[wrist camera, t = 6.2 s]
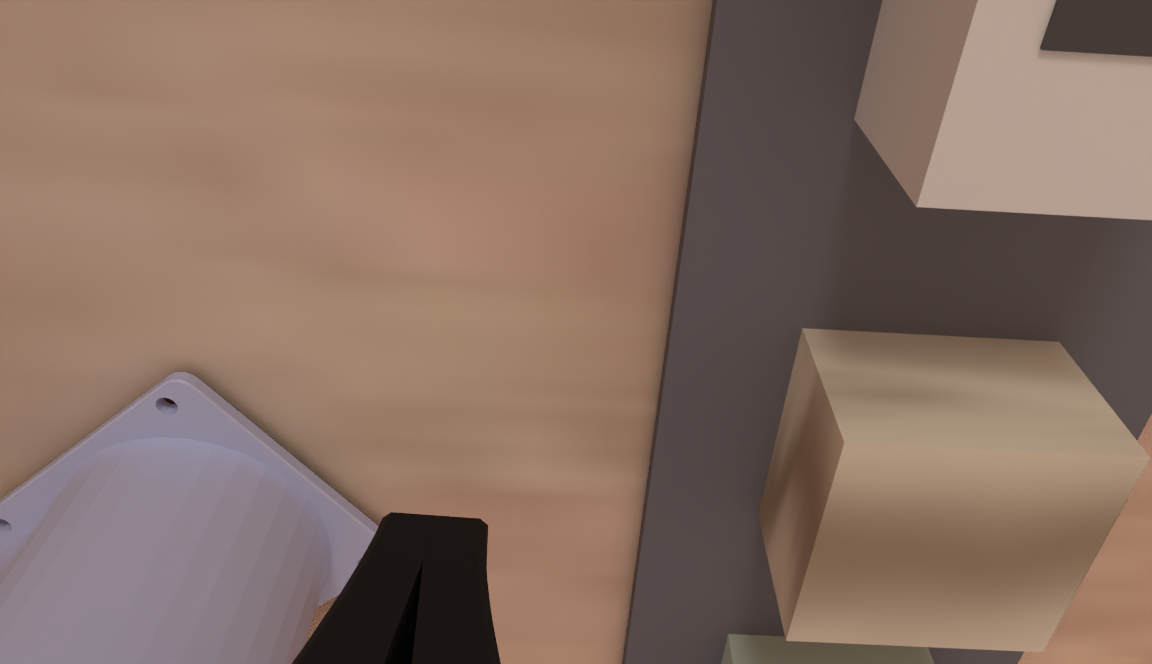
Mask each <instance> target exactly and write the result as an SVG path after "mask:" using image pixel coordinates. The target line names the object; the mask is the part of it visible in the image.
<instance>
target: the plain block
mask: <svg viewBox="0 0 1152 664" xmlns="http://www.w3.org/2000/svg"><path fill="white" fill-rule="evenodd" d="M1149 460H1150V456H1149V455H1148V454H1147V453H1146V451H1145V450H1144V449H1143V448H1142V446H1141V445H1140V444H1139V442H1138V441H1137V440H1136V439H1135V437H1134V436H1133V435H1132V434H1131V432H1130V431H1129V430H1128V429H1127V427H1126V426H1125V425H1124V423H1123V422H1122V421H1121V420H1120V418H1119V417H1118V416H1117V415H1116V413H1115V412H1114V411H1113V410H1112V408H1111V407H1110V406H1109V404H1108V403H1107V402H1106V401H1105V399H1104V398H1103V397H1102V396H1101V394H1100V393H1099V392H1098V390H1097V389H1096V388H1095V387H1094V385H1093V384H1092V383H1091V382H1090V380H1089V379H1088V378H1087V377H1086V375H1085V374H1084V373H1083V371H1082V370H1081V369H1080V368H1079V366H1078V365H1077V364H1076V363H1075V361H1074V360H1073V359H1072V357H1071V356H1070V355H1069V354H1068V352H1067V351H1066V350H1065V349H1064V347H1063V346H1062V345H1061V344H1060V342H1053V341H1034V340H1015V339H996V338H978V337H959V336H940V335H921V334H902V333H883V332H864V331H845V330H826V329H807V328H802V332H801V336H800V340H799V344H798V349H797V353H796V357H795V361H794V365H793V370H792V374H791V378H790V382H789V386H788V391H787V395H786V399H785V403H784V407H783V412H782V416H781V420H780V424H779V428H778V433H777V437H776V441H775V445H774V449H773V454H772V458H771V462H770V466H769V470H768V475H767V479H766V483H765V487H764V491H763V496H762V500H761V504H760V508H759V512H758V517H759V521H760V526H761V530H762V535H763V539H764V544H765V549H766V553H767V558H768V562H769V567H770V571H771V576H772V580H773V585H774V589H775V594H776V598H777V603H778V607H779V612H780V616H781V621H782V625H783V630H784V634H785V639H786V641H802V642H824V643H847V644H869V645H891V646H913V647H936V648H958V649H980V650H1002V651H1025V652H1043V651H1044V649H1045V648H1046V646H1047V644H1048V642H1049V640H1050V639H1051V637H1052V635H1053V633H1054V631H1055V630H1056V628H1057V626H1058V624H1059V622H1060V621H1061V619H1062V617H1063V615H1064V613H1065V611H1066V610H1067V608H1068V606H1069V604H1070V602H1071V601H1072V599H1073V597H1074V595H1075V593H1076V592H1077V590H1078V588H1079V586H1080V584H1081V583H1082V581H1083V579H1084V577H1085V575H1086V574H1087V572H1088V570H1089V568H1090V566H1091V565H1092V563H1093V561H1094V559H1095V557H1096V556H1097V554H1098V552H1099V550H1100V548H1101V547H1102V545H1103V543H1104V541H1105V539H1106V538H1107V536H1108V534H1109V532H1110V530H1111V529H1112V527H1113V525H1114V523H1115V521H1116V520H1117V518H1118V516H1119V514H1120V512H1121V511H1122V509H1123V507H1124V505H1125V503H1126V502H1127V500H1128V498H1129V496H1130V494H1131V493H1132V491H1133V489H1134V487H1135V485H1136V484H1137V482H1138V480H1139V478H1140V476H1141V475H1142V473H1143V471H1144V469H1145V467H1146V466H1147V464H1148V462H1149Z"/></svg>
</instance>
